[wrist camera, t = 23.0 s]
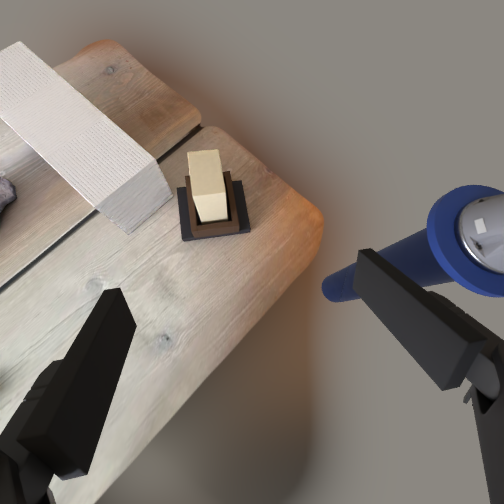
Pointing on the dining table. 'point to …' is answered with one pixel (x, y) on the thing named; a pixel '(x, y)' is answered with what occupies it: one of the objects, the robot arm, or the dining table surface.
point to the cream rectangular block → (208, 186)
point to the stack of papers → (79, 140)
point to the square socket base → (196, 230)
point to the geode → (6, 192)
